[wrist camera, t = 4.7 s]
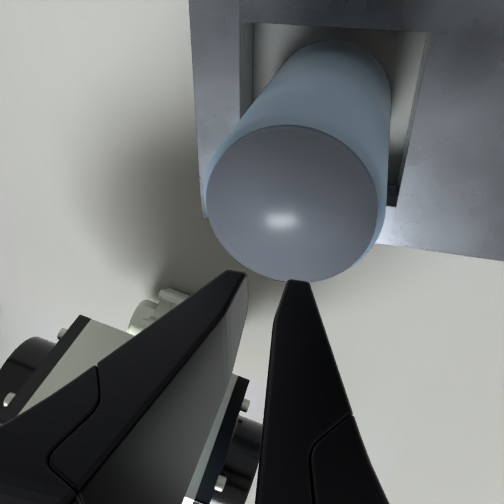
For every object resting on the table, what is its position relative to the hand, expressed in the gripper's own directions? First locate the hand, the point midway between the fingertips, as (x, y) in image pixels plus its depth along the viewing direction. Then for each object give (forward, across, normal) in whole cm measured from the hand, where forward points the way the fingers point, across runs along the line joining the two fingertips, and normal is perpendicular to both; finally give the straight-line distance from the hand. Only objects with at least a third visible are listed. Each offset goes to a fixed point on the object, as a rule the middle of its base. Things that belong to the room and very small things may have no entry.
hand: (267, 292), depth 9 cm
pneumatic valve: (+13, +7, +14) cm, 20 cm away
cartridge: (+12, 0, 0) cm, 12 cm away
